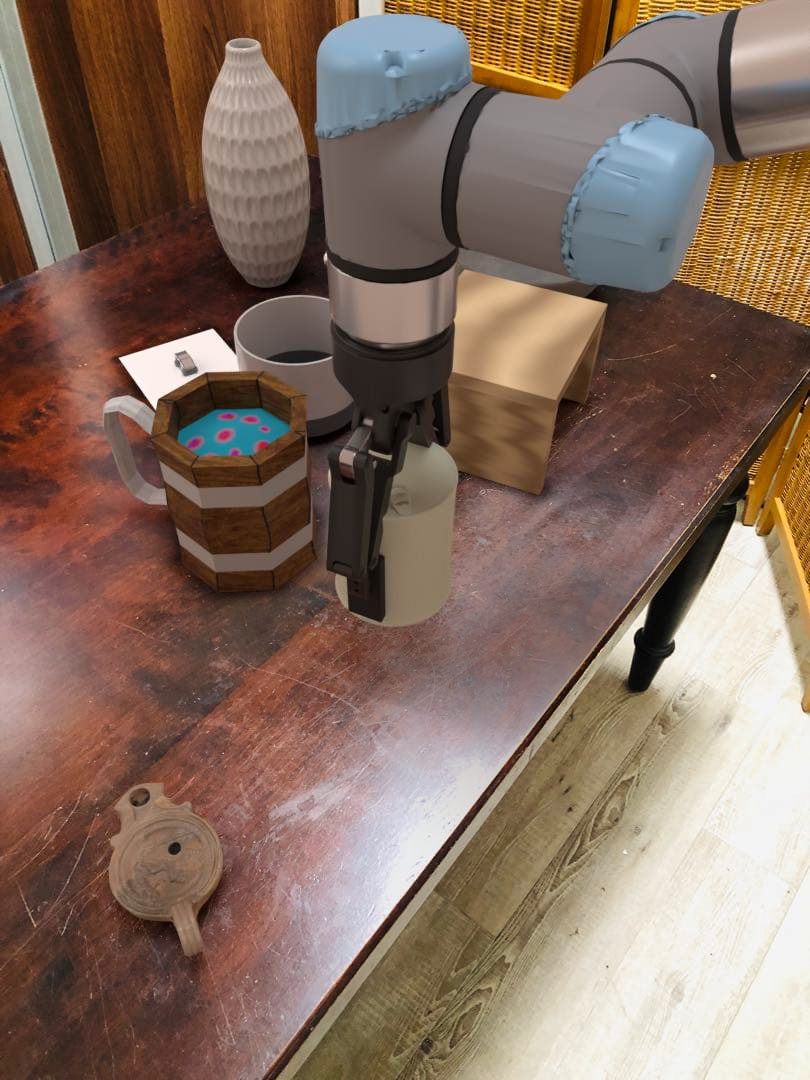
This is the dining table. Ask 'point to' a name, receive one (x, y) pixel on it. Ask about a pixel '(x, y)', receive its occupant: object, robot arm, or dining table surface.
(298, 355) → the planter
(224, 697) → the dining table surface
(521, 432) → the shelf
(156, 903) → the oil lamp
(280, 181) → the vase
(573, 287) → the bowl
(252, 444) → the mug
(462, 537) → the dining table surface
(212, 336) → the white paper sheet
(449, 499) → the can
